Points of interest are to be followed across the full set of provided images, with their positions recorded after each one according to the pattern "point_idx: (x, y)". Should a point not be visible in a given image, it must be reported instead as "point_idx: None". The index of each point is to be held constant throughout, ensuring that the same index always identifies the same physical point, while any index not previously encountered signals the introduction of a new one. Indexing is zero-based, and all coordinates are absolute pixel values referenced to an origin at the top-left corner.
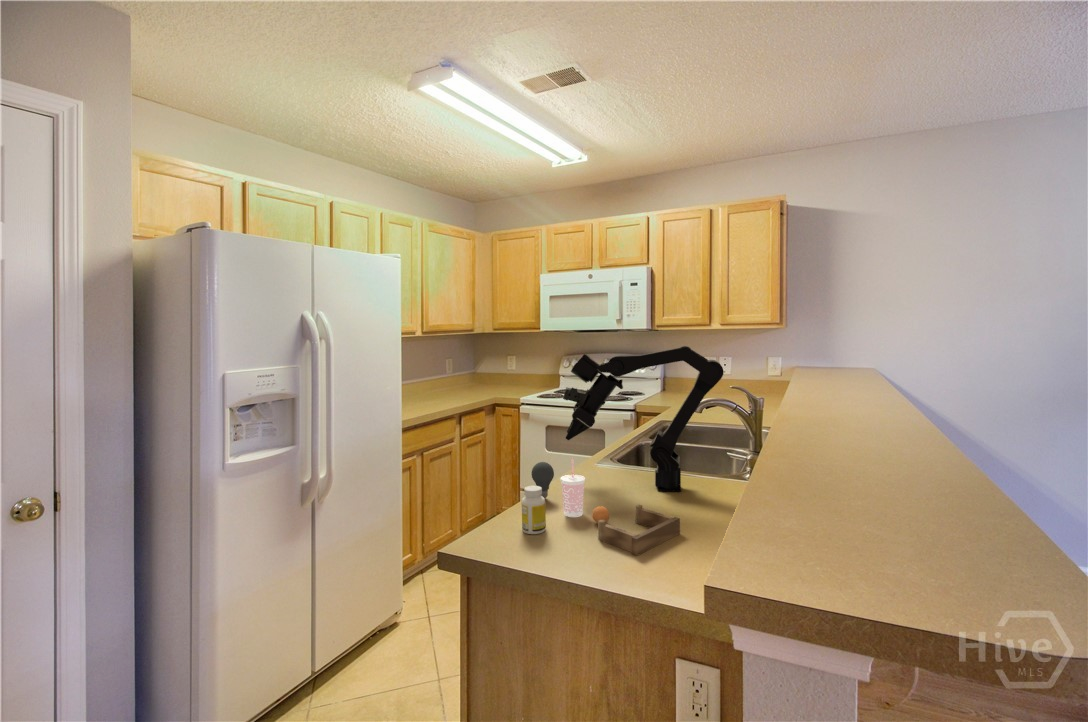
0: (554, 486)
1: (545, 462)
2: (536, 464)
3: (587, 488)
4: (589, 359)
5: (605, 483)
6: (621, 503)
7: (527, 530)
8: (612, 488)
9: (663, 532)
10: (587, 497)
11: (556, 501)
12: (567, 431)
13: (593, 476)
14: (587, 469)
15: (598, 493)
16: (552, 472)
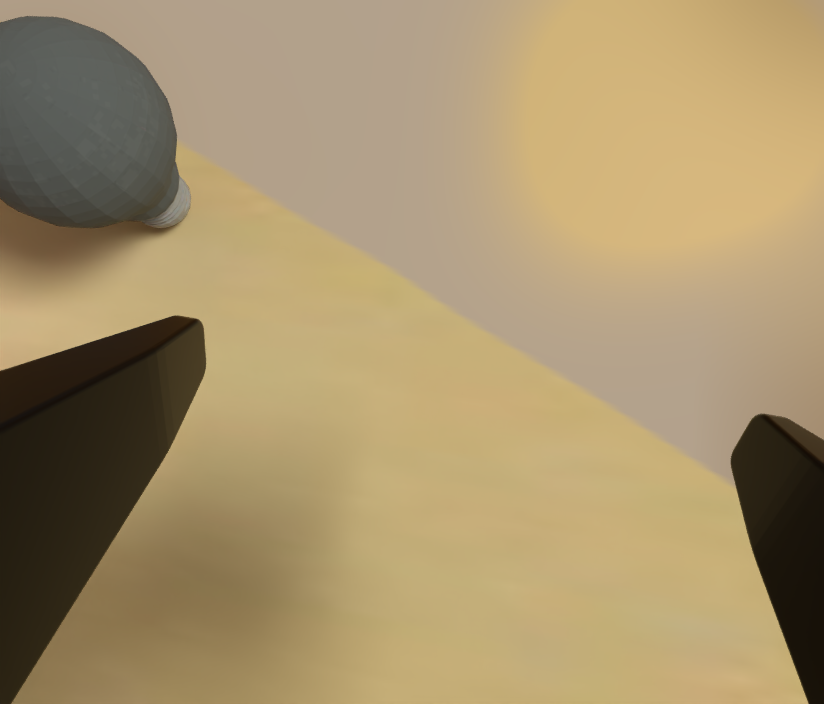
0: (407, 299)
1: (6, 104)
2: (10, 24)
3: (331, 517)
4: None
5: (424, 669)
6: None
7: None
8: (305, 696)
9: None
10: (152, 486)
11: (116, 283)
12: (761, 423)
13: (606, 612)
14: None
15: (217, 574)
16: (4, 200)
